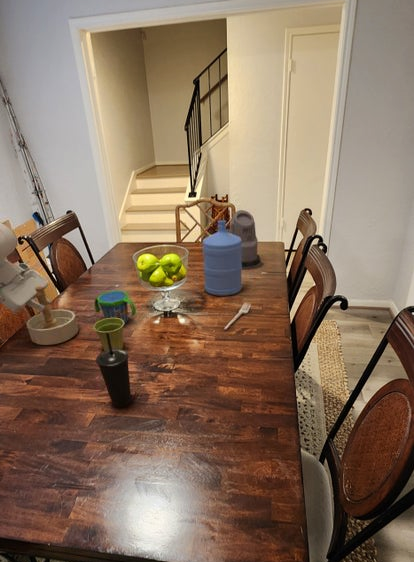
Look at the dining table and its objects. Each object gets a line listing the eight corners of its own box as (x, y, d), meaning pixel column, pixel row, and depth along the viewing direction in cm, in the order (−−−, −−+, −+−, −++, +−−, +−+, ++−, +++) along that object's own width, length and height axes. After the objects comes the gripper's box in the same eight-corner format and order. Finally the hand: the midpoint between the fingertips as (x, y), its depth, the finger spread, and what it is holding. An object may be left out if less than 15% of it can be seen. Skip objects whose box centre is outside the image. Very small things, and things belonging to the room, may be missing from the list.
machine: (266, 266, 180) (268, 213, 167) (236, 271, 176) (235, 217, 163) (241, 250, 204) (242, 203, 191) (214, 254, 200) (212, 206, 187)
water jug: (237, 297, 149) (237, 226, 134) (200, 295, 153) (196, 225, 138) (244, 283, 161) (245, 216, 147) (210, 281, 165) (207, 216, 151)
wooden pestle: (43, 332, 124) (30, 290, 116) (46, 326, 128) (33, 285, 120) (56, 331, 124) (44, 289, 116) (59, 325, 128) (47, 284, 120)
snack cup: (91, 324, 134) (85, 299, 129) (109, 312, 142) (104, 288, 137) (126, 332, 128) (121, 305, 123) (143, 319, 136) (139, 293, 131)
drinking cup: (110, 392, 99) (95, 326, 89) (139, 392, 99) (127, 325, 88) (102, 411, 93) (85, 342, 82) (133, 411, 92) (119, 341, 82)
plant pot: (134, 343, 121) (130, 319, 117) (117, 358, 114) (112, 333, 109) (110, 339, 124) (105, 315, 120) (92, 353, 117) (87, 329, 112)
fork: (220, 329, 127) (220, 324, 126) (243, 306, 141) (243, 302, 140) (229, 331, 125) (229, 326, 124) (251, 308, 140) (251, 303, 139)
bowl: (26, 348, 121) (20, 332, 118) (38, 326, 135) (33, 311, 132) (74, 343, 123) (70, 327, 120) (81, 322, 136) (78, 307, 133)
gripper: (-6, 284, 107) (36, 314, 111) (28, 261, 124) (63, 288, 129) (-15, 298, 110) (26, 327, 114) (20, 274, 127) (54, 300, 131)
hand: (46, 306), depth 122 cm, fingers closed on wooden pestle, 2 cm apart
